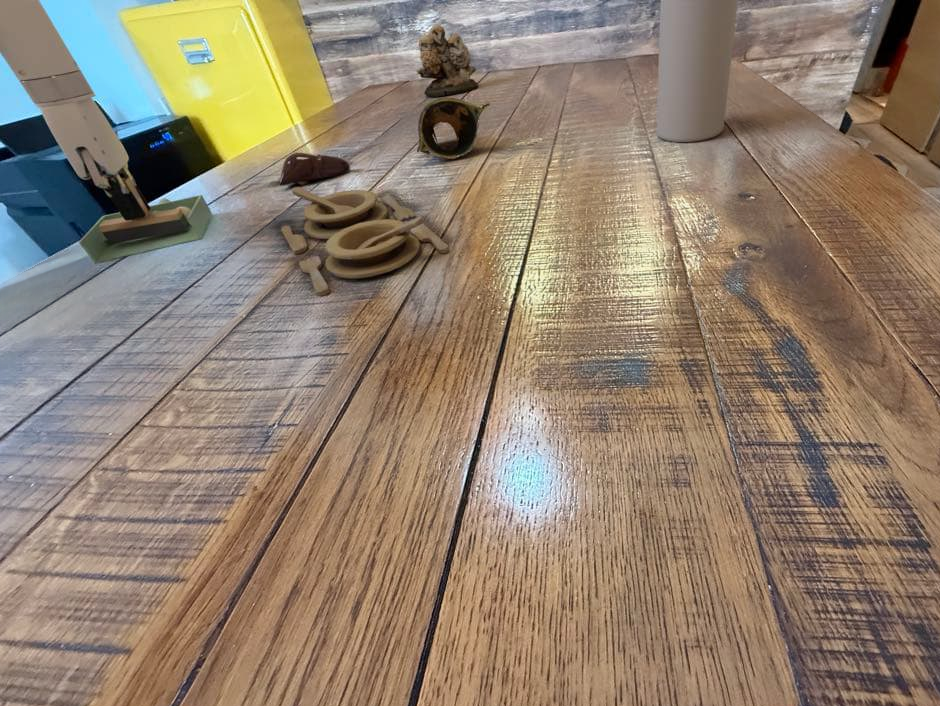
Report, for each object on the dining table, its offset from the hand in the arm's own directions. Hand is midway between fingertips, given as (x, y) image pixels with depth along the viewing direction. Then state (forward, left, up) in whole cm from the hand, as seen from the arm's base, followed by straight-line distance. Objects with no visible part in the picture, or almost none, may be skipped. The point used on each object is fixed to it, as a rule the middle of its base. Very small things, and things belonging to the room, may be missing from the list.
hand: (138, 214), depth 86 cm
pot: (+56, -18, -5) cm, 58 cm away
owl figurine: (+100, +34, -5) cm, 105 cm away
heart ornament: (+33, -1, -5) cm, 33 cm away
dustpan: (+2, +3, -4) cm, 6 cm away
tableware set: (+19, -38, -5) cm, 42 cm away
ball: (+6, 0, -3) cm, 7 cm away
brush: (0, 0, -3) cm, 3 cm away
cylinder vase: (+82, -58, -5) cm, 100 cm away
